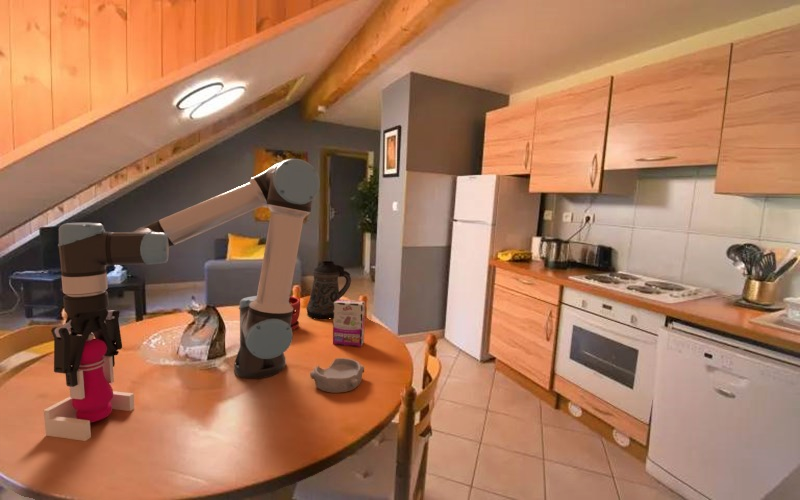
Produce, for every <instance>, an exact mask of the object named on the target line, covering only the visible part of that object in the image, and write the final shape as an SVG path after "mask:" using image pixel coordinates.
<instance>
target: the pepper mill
mask: <svg viewBox="0 0 800 500" xmlns="http://www.w3.org/2000/svg"><path fill="white" fill-rule="evenodd" d="M106 351H107V346H106V344H105V342H103V341H102V340H100V339H95V337H94V334H93V333H90V334H89V337H88V339H87V340H86V341H85V345H84V349H83V353H82V358H81V362H80V366H79V370H83V380H84V393H85V398H83V399H74V398H73V399H72V405H73V407H74V408H75V409H76V410H78V411H77V412H76V418H77V419H82V420H89V421H90V424H91V423H94V422H98V421H100V420H101V421H102V420H103V419H105V418H107V417H108V416H109V415H111V414H112V412H113V409H112V406H111V403H110V401H111V399H112V398H113V391H114V390H113V388H112V386H111V383H108V381H107V380H106V378H105V376H104V373H103V365H104V364H105V361H104V360H105V358H104V357H103V356H104V355H105V353H106Z"/></svg>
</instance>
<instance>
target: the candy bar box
mask: <svg viewBox="0 0 800 500" xmlns="http://www.w3.org/2000/svg"><path fill="white" fill-rule="evenodd" d="M365 310H366V301H363V300H353V299H350V300H349V299H340V300H336V301H335V302H334V304H333V319H332V321H333V322H332V323H333V324H332V345H334V346H335V345H336V346H337V345H338V346H348V347H359V348H361V347H362V346H363V344H364V343H365V319H366V318H365V317H366V316H365V315H366V314H365V313H366V311H365Z"/></svg>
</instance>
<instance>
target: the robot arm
mask: <svg viewBox="0 0 800 500" xmlns="http://www.w3.org/2000/svg"><path fill="white" fill-rule="evenodd" d="M320 181H321V180H320V177H319V173H318V172H317V170H316V169H315V168H314V167H313V165H312V164H311V163H309V162H308V161H306V160H304V159H299V158H285V159H284V160H282V161H279V162H277V163H275V164H274V165H272V166H271V167H269V168H268V169H266V170H265V171H262V172H261V173H259V174H257V175H255V176H253V177H251V178H250V180H249V181H248V182H247V183H245V184H243V185H241V186H237V187H235V188H233V189H231V190H228V191H226V192H223V193H220V194H219V195H216V196H213V197H211V198H209V199H207V200H204V201H201V202H199V203H197V204H195V205H192V206H190V207H187V208H185V209H182V210H180V211H178V212H175V213H173V214H171V215H168V216H165V217H163V218H161V219H159V220H156V221H154V222H151V223H149V224H147V225H143V226H140V227H138V228H135V229H134V230H133V231H126V232H123V231H122V232H121V231H120V232H119V231H117V232H113V231H112V232H111V231H106V229H105V227H104V225H103V224H102V223H100V222H67V223H63V224H61V225H60V226H59V227H58V244H57V247H58V252H59V253H58V254H59V262H60V270H61V271H60V273H61V275H60V276H61V285H62V286H61V287H62V293H63V294H65V295H64V296H63V297H62V298H63V299H62V300H63V301H62V302H63V310H64V312H65V313H66V315H67V317H66V319H65V323H64V324H62V325H60V326H58V327H57V326H54V327H52V328H51V334H52V336H53V339H54V340H53V345H54V346H53V349H54V350H53V355H54V356H53V357H54V358H53V372H54V373H55V374H64V375H65V382H66V383H65V384H66V386H67V387H69V395H70V396H69V397H70V398H74V399H83V398H85V393H84V380H83V370H79V366H80V362H81V358H82V353H83V349H84V345H85V341H86V340H87V339H88V337H89V334H90V333H92V334H93V335H94V339H100V340H102V341H103V342H105V344H106V346H107V351H106V353H105V355H104V356H103V357H104V358H105V360H104V361H105V364H104V365H103V373H104V376H105V378H106V380H107V381H108V383H109V384H112V383H114V382H115V378H114V367H115V364H116V362H115V359H116V358H115V356H117V355H119V353H120V352H119V350H121V349H122V348H123V343H122V335H121V330H120V322H119V321H120V320H119V318H120V311H119V310H116V309H115V310H114V309H112V310H111V309H107V308H108V307H109V305H110V303H109V293H108V291H107V289H108V288H109V287H108V285H109V284H108V275H107V273H108V272H107V266H126V265H127V266H128V265H129V266H131V265H132V266H133V265H149V266H151V265H152V266H153V265H157V264H158V265H159V264H166V263H167V262H168V261H169V254H170V250H169V249H170V248H171V247H173V246H176V245H178V244H180V243H183V242H185V241H187V240H189V239H191V238H193V237H195V236H198V235H200V234H203V233H205V232H207V231H209V230H211V229H214V228H216V227H219V226H221V225H223V224H226V223H227V222H230V221H232V220H234V219H237V218H238V217H241V216H243V215H246V214H248V213H250V212H252V211H255V210H257V209H259V208H262V207H263V208H266V209H268V210H269V211H270V217H269V223H268V229H267V236H266V240H265V246H264V252H263V257H262V263H261V264H262V265H261V270H260V276H259V280H258V281H259V282H258V288H257V294H256V295H252V296H247V297H244V298H241V300H240V301H239V307H238V310H239V343H240V344H239V349H238V352H237V355H236V357H235V360H234V364H233V365H234V366H233V368H234V369H233V371H234V374H235V375H236V376H238V377H240V378H245V379H254V380H255V379H262V378H268V377H271V376H275V375H277V374H279V373H280V372H281V371H283V370H284V369H285V367H286V356H285V353H286V351H288V349H289V348H290V346H291V344H292V341H293V338H294V337H293V330H292V328H291V327H290V325H291V319H292V313H293V307H292V306H291V304H292V303H291V302H290V303H289V298H290V297H291V291H292V287H293V281H294V276H295V269H296V262H297V258H298V252H299V247H300V240H301V235H302V229H303V224H304V219H305V218H306V217H307V216H308V215H310V214H311V211H312V206H313V200H314V199H315V198H316V197H317V195H318V193H319V190H320V188H321V187H320V185H321V182H320Z"/></svg>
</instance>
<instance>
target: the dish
mask: <svg viewBox="0 0 800 500" xmlns="http://www.w3.org/2000/svg"><path fill="white" fill-rule="evenodd" d="M363 373H365V366H364V365H363V364H361V363H360V362H359V361H357V360H355V359H352V358H347V357H337V358H335V359H334V360H333V361H332V363H331V365H329V366H328V367H327V368H325V369H323V368H322V367H320V366H319V365H317V366H315V368H314V369H313V370H311V371H310V373H309V374H310V379H311V380H314V382H315V387H317V389H319V390H320V391H323V392H325V393H333V394H335V393H338V394H339V393H345V392H350V391H352V390H354V389H356V388H357V387H359V385H360V384H361V382H362V379H363Z"/></svg>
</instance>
